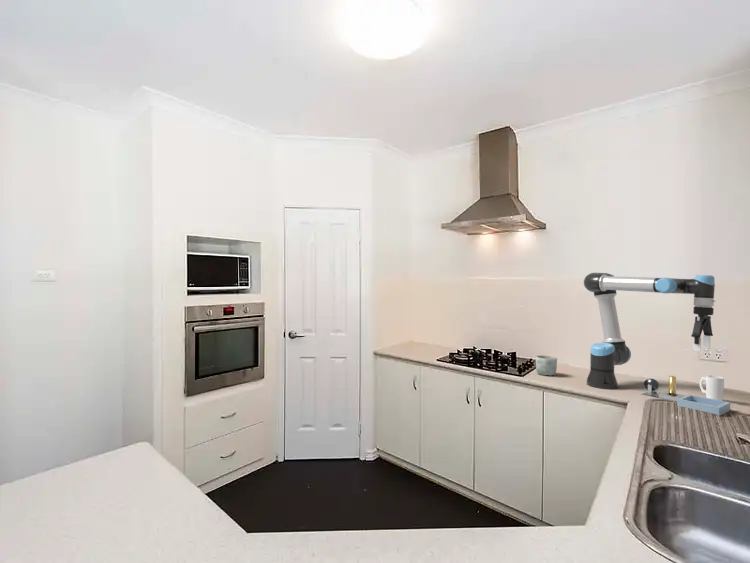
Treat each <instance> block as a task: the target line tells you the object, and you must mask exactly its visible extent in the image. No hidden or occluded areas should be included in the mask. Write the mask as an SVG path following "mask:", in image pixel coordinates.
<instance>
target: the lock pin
mask: <svg viewBox="0 0 750 563" xmlns="http://www.w3.org/2000/svg"><path fill="white" fill-rule="evenodd" d="M668 392H669V395H672V396H676V394H677V376H674V375H668Z"/></svg>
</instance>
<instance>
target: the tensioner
mask: <svg viewBox="0 0 750 563" xmlns="http://www.w3.org/2000/svg"><path fill="white" fill-rule="evenodd" d="M643 386H644V388H645V389H646V390H647V392H643V393H641V394H640V395H642V396H647V397H651V398H656V399H660V400H665V401H669V402H675V403H677V399H679V398H681V397H684V396H687V394H686V395H685V394H679V393H676V396H672V395H669V391H662V392H658V391H657V390H659V388H660V383H659V381H658V380H657V379H655V378H648V379H645V380H644V381H643Z"/></svg>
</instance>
